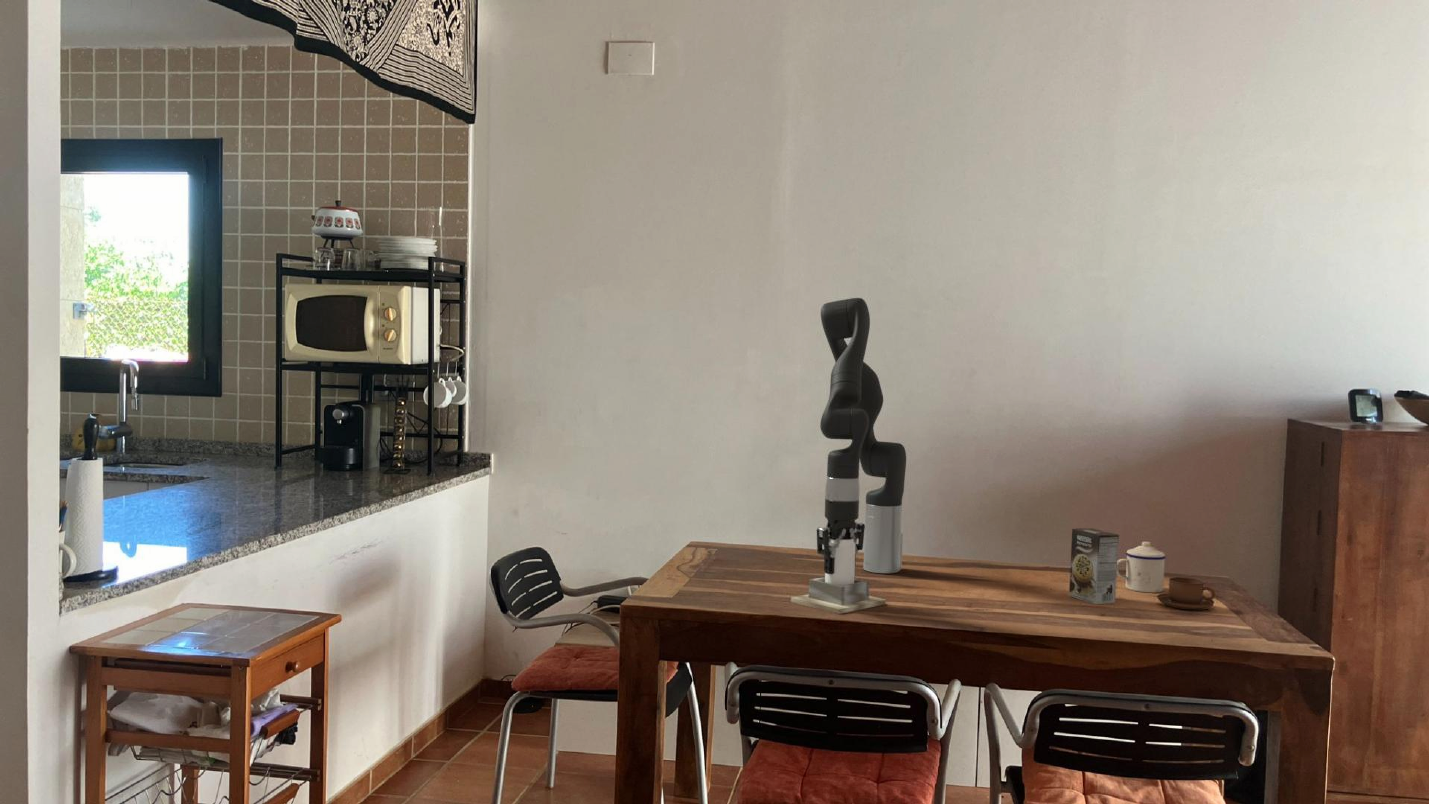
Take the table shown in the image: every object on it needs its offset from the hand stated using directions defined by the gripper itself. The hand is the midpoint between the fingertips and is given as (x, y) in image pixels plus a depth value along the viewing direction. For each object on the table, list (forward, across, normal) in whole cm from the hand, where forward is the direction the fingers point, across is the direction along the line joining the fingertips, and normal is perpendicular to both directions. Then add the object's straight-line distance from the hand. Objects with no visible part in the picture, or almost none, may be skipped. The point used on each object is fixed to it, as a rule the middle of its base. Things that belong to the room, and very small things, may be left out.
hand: (839, 571), depth 249 cm
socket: (+7, 0, 0) cm, 7 cm away
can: (+4, 0, 0) cm, 4 cm away
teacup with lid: (+7, -73, +34) cm, 81 cm away
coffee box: (+7, -52, +33) cm, 62 cm away
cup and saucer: (+8, -63, +50) cm, 81 cm away
